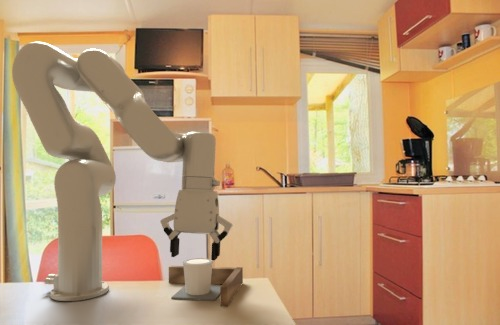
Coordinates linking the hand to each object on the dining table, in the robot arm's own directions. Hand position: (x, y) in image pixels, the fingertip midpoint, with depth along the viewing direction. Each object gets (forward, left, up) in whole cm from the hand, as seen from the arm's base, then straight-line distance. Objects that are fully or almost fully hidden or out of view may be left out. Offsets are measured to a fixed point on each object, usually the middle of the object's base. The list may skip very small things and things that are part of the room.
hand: (194, 257), depth 87 cm
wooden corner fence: (0, 0, -8) cm, 8 cm away
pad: (+1, 0, -8) cm, 8 cm away
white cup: (+1, 0, -8) cm, 8 cm away
